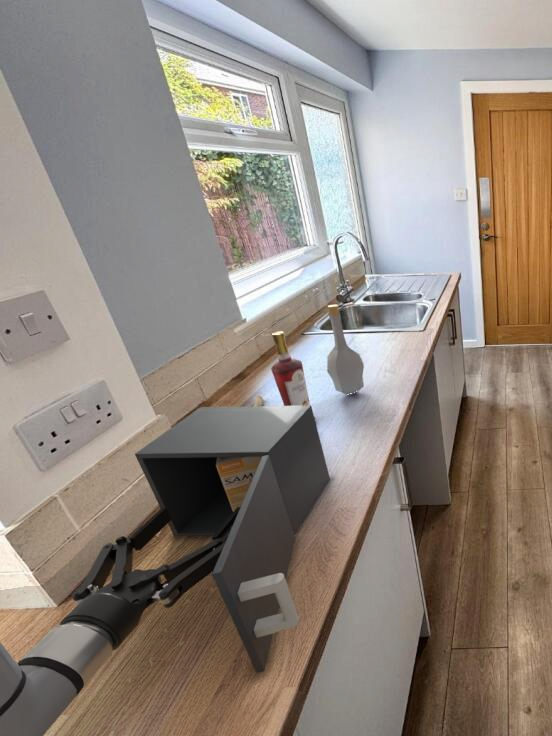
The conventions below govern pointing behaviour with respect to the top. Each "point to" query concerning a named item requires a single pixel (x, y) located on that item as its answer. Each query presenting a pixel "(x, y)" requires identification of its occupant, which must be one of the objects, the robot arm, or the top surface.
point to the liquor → (289, 375)
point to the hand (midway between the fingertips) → (204, 513)
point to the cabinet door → (258, 566)
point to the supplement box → (237, 476)
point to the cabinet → (233, 439)
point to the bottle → (343, 359)
